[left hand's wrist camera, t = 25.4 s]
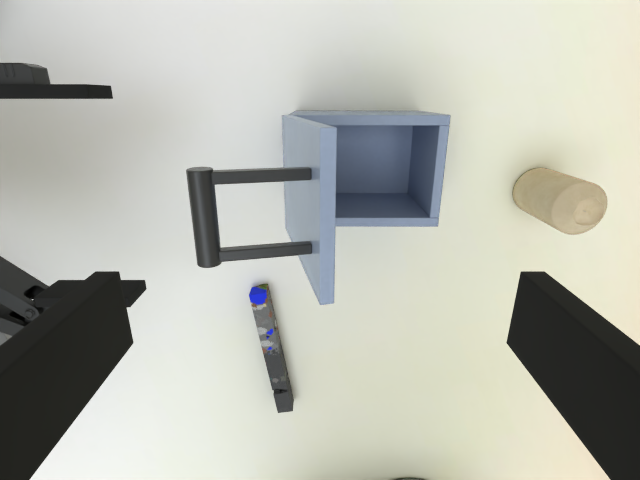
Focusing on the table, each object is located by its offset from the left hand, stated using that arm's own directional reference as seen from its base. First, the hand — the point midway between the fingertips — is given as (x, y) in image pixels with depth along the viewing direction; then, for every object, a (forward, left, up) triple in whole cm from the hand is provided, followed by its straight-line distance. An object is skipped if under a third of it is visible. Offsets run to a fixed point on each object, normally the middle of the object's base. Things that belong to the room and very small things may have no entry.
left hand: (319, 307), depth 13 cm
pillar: (-7, +27, -35) cm, 45 cm away
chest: (-4, -2, -35) cm, 35 cm away
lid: (+1, 0, -16) cm, 16 cm away
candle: (-25, -9, -35) cm, 44 cm away
